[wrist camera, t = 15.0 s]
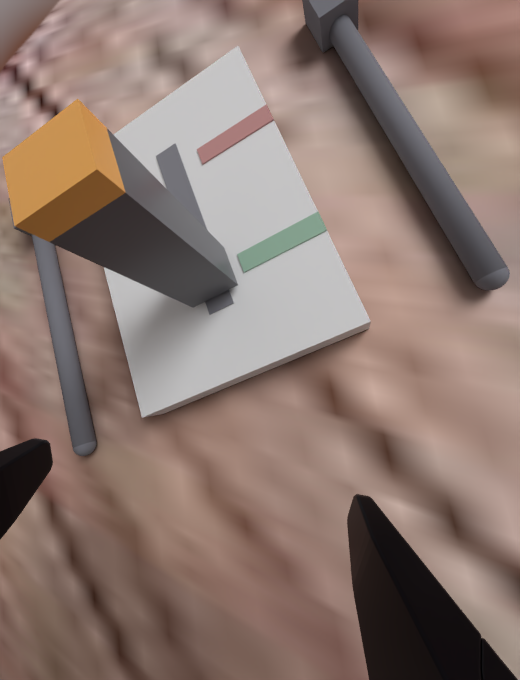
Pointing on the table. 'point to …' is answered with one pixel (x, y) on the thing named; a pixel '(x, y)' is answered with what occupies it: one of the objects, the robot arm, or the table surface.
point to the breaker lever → (111, 209)
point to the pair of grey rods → (407, 139)
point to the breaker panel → (231, 247)
